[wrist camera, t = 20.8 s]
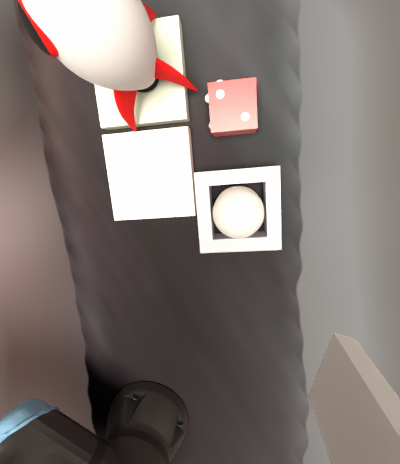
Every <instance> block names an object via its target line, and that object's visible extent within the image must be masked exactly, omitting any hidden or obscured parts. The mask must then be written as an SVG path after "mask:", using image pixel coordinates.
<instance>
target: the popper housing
mask: <svg viewBox="0 0 400 464" xmlns="http://www.w3.org/2000/svg"><path fill="white" fill-rule="evenodd" d="M194 182H195V194H196V206H197V218H198V230H199V242H200V253H218V252H241V251H265V250H282V241H281V190H280V166H267V167H254V168H242V169H229V170H217V171H205V172H195V173H194ZM254 182H263V197H264V228H265V231H257V232H255V233H254V234H252V235H250V236H248V237H246V238H231V237H228V236H226V235H225V234H223V233H218V234H214V220H213V206H212V192H211V186H214V185H227V184H241V183H254Z"/></svg>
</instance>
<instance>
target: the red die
mask: <svg viewBox="0 0 400 464" xmlns="http://www.w3.org/2000/svg"><path fill="white" fill-rule="evenodd" d="M205 101H206V102H207V103H209V111H210V123H209V128H210V129H211V133H212V135H213V136H214V137H220V136H230V135H241V134H251V133H255V132H256V130H257V128H258V125H257V96H256V77H253V78H245V79H236V80H228V81H223V80H218V81H217V82H212V83H208V94H207V95H206V96H205Z"/></svg>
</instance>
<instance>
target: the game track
mask: <svg viewBox="0 0 400 464" xmlns="http://www.w3.org/2000/svg"><path fill="white" fill-rule="evenodd" d="M151 25H152V28H153V32H154V36H155V41H156V47H157V57H158V58H159V59H160V60H162V61H164V62H166V63H167V64H169V65H170V66H172V67H173V68H175V69H176V70H177V71H179V72H180V73H181V74H182V75H184V76H185V77H186V70H185V58H184V46H183V34H182V24H181V21H180V18H179V16H178V15H175V16H169V17H162V18H156V19H153V21H152V22H151ZM94 85H95V84H94ZM95 91H96V98H97V105H98V112H99V119H100V125H101V128H103V129H106V130H113V129H122V128H131V127H130V126H129V125H128V124H127V123H126V122H125V121H124V119H123V118H122V116H121V115H120V113H119V110H118V108H117V105H116V102H115V98H114V92H113V89H108V88H104V87H101V86H98V85H95ZM134 116H135V123H136V127H141V126H151V125H160V124H170V123H179V122H189V121H190V118H189V106H188V94H187V88H186V87H184V86H181V85H179V84H176V83H173V82H169V81H165V80H161V79H159V82H158V84H157V86H156V87H155V88H154V89H153V90H151V91H149V92H138V91H137V94H136V99H135V106H134ZM102 139H103V146H104V153H105V159H106V166H107V173H108V180H109V187H110V193H111V200H112V207H113V214H114V220H115V221H116V220H133V219H150V218H166V217H183V216H196V214H197V206H196V194H195V182H194V166H193V154H192V142H191V130H190V128H189V127H188V126H185V127H175V128H166V129H156V130H146V131H137V132H127V133H117V134H107V135H102Z"/></svg>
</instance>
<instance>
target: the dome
mask: <svg viewBox="0 0 400 464" xmlns="http://www.w3.org/2000/svg"><path fill="white" fill-rule="evenodd" d="M213 219H214V222H215V225H216V226H217V228H218V229H219V230H220V231H221V232H222V233H223V234H225V235H226V236H228V237H231V238H246V237H248V236H250V235H252V234H254V233H255V232H256V231H257V230H258V229H259V228H260V226H261V225H262V222H263V219H264V206H263V203H262V201H261V199H260V198H259V196H258V195H257V193H256V192H255V191H253V190H252V189H251V188H249V187H246V186H242V185H235V186H231V187H228V188H226V189H225V190H224V191H222V192H221V193H220V195H219V196H218V198H217V200H216V201H215V204H214V207H213Z"/></svg>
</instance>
